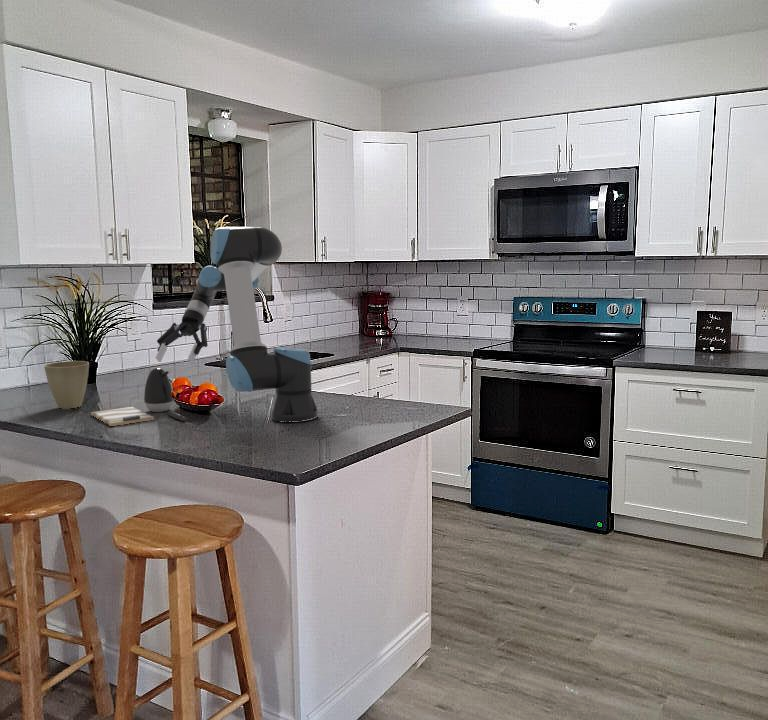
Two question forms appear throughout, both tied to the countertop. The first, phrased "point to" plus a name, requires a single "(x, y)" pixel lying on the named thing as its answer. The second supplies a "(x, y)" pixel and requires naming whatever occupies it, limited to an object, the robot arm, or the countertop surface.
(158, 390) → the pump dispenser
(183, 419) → the black marker
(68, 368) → the plant pot
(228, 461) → the countertop surface
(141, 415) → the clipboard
